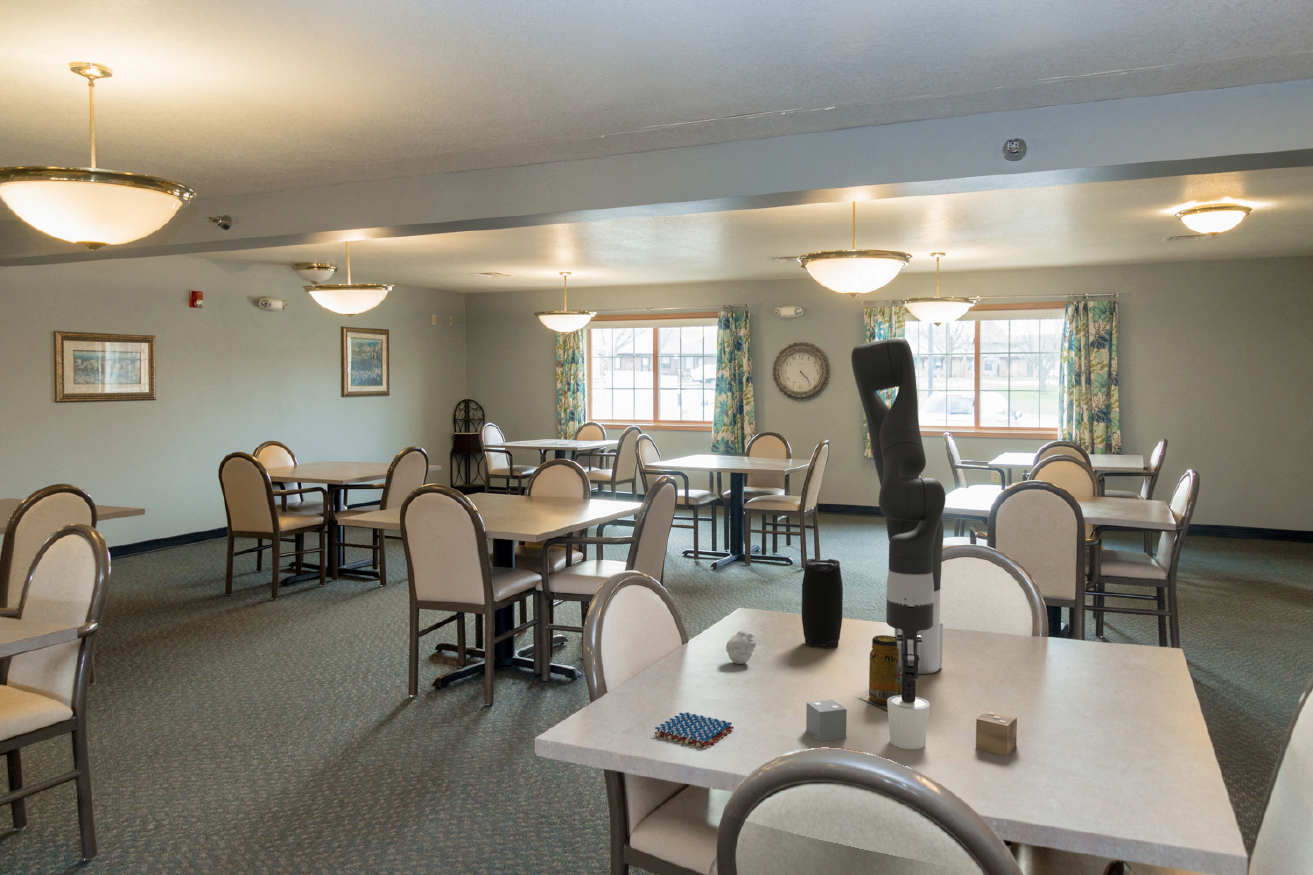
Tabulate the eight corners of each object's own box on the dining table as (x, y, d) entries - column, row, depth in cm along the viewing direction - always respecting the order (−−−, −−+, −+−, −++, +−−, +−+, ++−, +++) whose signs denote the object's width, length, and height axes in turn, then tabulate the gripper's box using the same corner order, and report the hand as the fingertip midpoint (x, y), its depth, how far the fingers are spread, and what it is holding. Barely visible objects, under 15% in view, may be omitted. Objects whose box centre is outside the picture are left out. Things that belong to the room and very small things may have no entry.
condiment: (887, 692, 176) (888, 631, 175) (918, 706, 168) (919, 642, 167) (857, 698, 172) (858, 636, 172) (887, 712, 165) (888, 647, 164)
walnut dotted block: (985, 739, 152) (986, 709, 152) (1016, 746, 149) (1017, 716, 149) (975, 748, 148) (976, 718, 148) (1006, 756, 145) (1007, 725, 145)
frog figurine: (762, 664, 194) (762, 632, 193) (737, 669, 190) (737, 636, 190) (744, 657, 199) (744, 625, 198) (719, 662, 195) (719, 630, 195)
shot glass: (880, 735, 153) (881, 694, 153) (919, 734, 154) (920, 693, 154) (894, 751, 147) (895, 708, 146) (935, 749, 147) (936, 707, 147)
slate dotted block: (832, 727, 157) (832, 698, 157) (846, 738, 152) (846, 708, 152) (806, 730, 156) (806, 701, 155) (819, 741, 151) (819, 711, 151)
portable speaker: (794, 641, 211) (795, 559, 210) (828, 637, 215) (829, 556, 214) (814, 651, 203) (815, 565, 203) (849, 647, 207) (850, 562, 206)
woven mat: (707, 752, 147) (707, 740, 147) (652, 739, 153) (652, 727, 153) (736, 732, 156) (736, 721, 156) (683, 720, 162) (683, 709, 161)
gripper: (885, 588, 156) (884, 686, 157) (887, 605, 144) (885, 712, 144) (930, 590, 155) (929, 689, 156) (936, 608, 142) (934, 716, 143)
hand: (908, 700), depth 150 cm, fingers closed
